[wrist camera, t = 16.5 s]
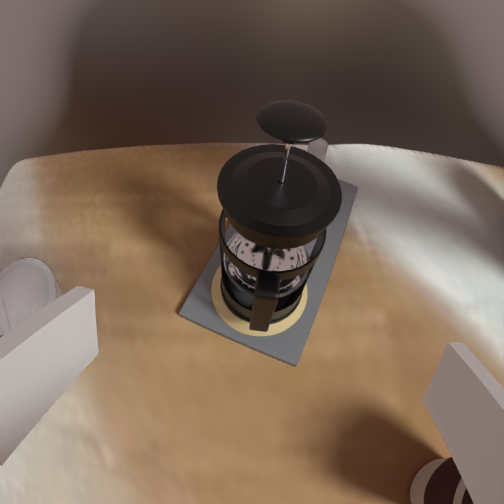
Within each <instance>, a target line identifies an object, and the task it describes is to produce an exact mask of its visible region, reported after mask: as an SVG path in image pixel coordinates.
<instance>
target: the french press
mask: <svg viewBox="0 0 504 504" xmlns="http://www.w3.org/2000/svg"><path fill="white" fill-rule="evenodd" d="M257 122H258V124H259V125H260V127H261V128H262V129H263V130H264V131H265V132H266V133H268V134H269V135H271V136H273V137H275V138H277V139H281V140H282V141H283V142H284V143H285V145H276V144H269V145H259V146H255V147H251V148H248V149H245V150H243V151H241V152H239V153H237V154H236V155H234V156H233V157H232V158H231V159H229V160H228V161H227V162H226V164H225V165H224V166H223V168H222V169H221V172H220V174H219V177H218V183H217V191H218V197H219V201H220V203H221V205H222V207H223V210H222V213H221V216H220V220H219V239H220V257H221V274H222V277H221V283H220V289H221V295H222V298H223V300H224V303H225V304H226V306H227V307H228V309H229V310H230V311H231V312H232V313H233V314H234V315H235V316H237V317H238V318H240V319H241V320H243V321H246V322H248V323H250V325H249V330H253V331H262V332H267V331H268V328H269V325H270V324H275V323H277V322H280V321H282V320H284V319H286V318H287V317H289V316H290V315H291V314H292V313H293V312H294V311H295V310H296V308H297V307H298V305H299V303H300V300H301V298H302V293H303V290H304V287H305V285H306V282H307V280H308V278H309V276H310V274H311V272H312V269H313V267H314V265H315V263H316V261H317V259H318V257H319V256H320V253H321V251H322V249H323V246H324V243H325V241H326V228H327V227H328V226H329V225H330V224H331V223H332V222H333V221H334V219H335V218H336V216H337V215H338V213H339V210H340V207H341V203H342V191H341V187H340V184H339V181H338V179H337V177H336V175H335V174H334V173H333V171H332V170H331V169H330V168H329V167H328V166H327V165H326V164H325V163H324V162H323V161H322V160H320V159H319V158H317V157H316V156H314V155H312V154H310V153H308V152H306V151H304V150H301V149H298V148H295V147H291V144H294V143H305V142H312V141H315V140H318V139H319V138H321V137H323V136H324V135H325V134H326V132H327V129H328V124H327V121H326V119H325V117H324V116H323V115H322V114H321V113H320V112H319V111H318V110H317V109H315V108H313V107H312V106H309V105H307V104H304V103H301V102H297V101H290V100H280V101H274V102H271V103H268V104H265V105H264V106H263V107H261V108H260V110H259V111H258V113H257ZM226 217H227V219H228V221H229V223H230V224H231V225H232V227H233V228H234V229H235V230H236V231H237V233H235V234H234V235H233V236H232V238H231V239H230V240H229V242H228V244H226V242H225V218H226ZM317 237H318V238H317ZM316 238H317V240H316V243H315V245H314V248H313V250H312V252H311V255H310V257H309V254H308V251H307V248H306V247H305V245H306V244H308V243H309V242H311V241H313V240H315V239H316ZM232 282H233V283H234V284H235V285H236V286H237V287H238V288H239V289H240V290H242V291H243V292H244V293H246V294H248V295H250V296H252V297H254V298H253V305H252V309H250V308H248V307H245V306H243V305H242V304H241V303H239V302H238V300H237V299H236V297H235V296H234V293H233V291H232ZM290 293H291V295H290V298H289V299H288V301H287V302H286V303H285V304H284V305H283V306H282V307H280V308H279V309H277V310H275V308H276V305H277V302H278V299H279V298H281V297H283V296H286V295H288V294H290Z"/></svg>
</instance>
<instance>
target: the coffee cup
mask: <svg viewBox="0 0 504 504" xmlns="http://www.w3.org/2000/svg"><path fill="white" fill-rule="evenodd" d="M410 501H411V504H474V503H473V501H472V499H471V496H470V494H469V492H468V490H467V488H466V485H465V483H464V481H463V479H462V477H461V475H460V473H459V470H458V468H457V466H456V464H455V462H454V460H453V458H452V457H451V458H441V459H436V460H433V461H431V462H429V463H427V464H426V465H425V466H423V467H422V468H421V469H420V470H419V472H418V473H417V474H416V476H415V478H414V479H413V482H412V484H411V488H410Z"/></svg>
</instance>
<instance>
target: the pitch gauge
mask: <svg viewBox="0 0 504 504" xmlns="http://www.w3.org/2000/svg"><path fill="white" fill-rule="evenodd" d="M327 148H328V143H327V142H326V141H325V140H324V139H321V138H319V139H318V140H315V141H312V142H310V143H309V147H308V151H307V152H308V153H310V154H312V155H314V156H316V157H317V158H319V159H320V160H322V161H323V162H324V158H325V155H326V152H327ZM338 181H339V184H340V187H341V191H342V203H341V207H340V210H339V213H338V215H337V216H336V218H335V219H334V221H333V222H332V223H331V224H330V225H329V226H328V227H327V228H326V241H325V243H324V246H323V249H322V251H321V253H320V256H319V257H318V259H317V261H316V263H315V265H314V267H313V269H312V272H311V274H310V276H309V278H308V280H307V282H306V285H305V287H304V290H303V293H302V298H301V300H300V303H299V305H298V307H297V308H296V310H295V311H294V312H293V313H292V314H291V315H290V316H289V317H287V318H286V319H284V320H282V321H280V322H277V323H275V324H270V325H269V328H268V331H267V332H262V331H253V330H249V325H250V323H248V322H246V321H243V320H241V319H240V318H238V317H237V316H235V315H234V314H233V313H232V312H231V311H230V310H229V309H228V307H227V306H226V304H225V303H224V300H223V298H222V295H221V289H220V283H221V277H222V274H221V257H220V242H219V244H218V246H217V247H216V249H215V251H214V252H213V254H212V256H211V258H210V259H209V261H208V263H207V265H206V266H205V268H204V270H203V272H202V273H201V275H200V277H199V279H198V280H197V282H196V284H195V286H194V287H193V289H192V291H191V293H190V294H189V296H188V298H187V300H186V302H185V303H184V305H183V307H182V309H181V310H180V312H179V316H180V317H182V318H184V319H186V320H189V321H191V322H193V323H195V324H197V325H199V326H201V327H203V328H206V329H208V330H210V331H212V332H214V333H217V334H219V335H221V336H223V337H225V338H228V339H230V340H232V341H234V342H237V343H239V344H241V345H244V346H246V347H248V348H251V349H253V350H255V351H258V352H260V353H263V354H265V355H267V356H270V357H272V358H275V359H277V360H280V361H282V362H285V363H287V364H290V365H292V366H295V367H296V366H297V363H298V361H299V358H300V356H301V353H302V351H303V348H304V346H305V343H306V340H307V338H308V335H309V333H310V330H311V327H312V325H313V322H314V319H315V316H316V314H317V311H318V308H319V305H320V303H321V300H322V297H323V294H324V291H325V289H326V286H327V283H328V280H329V277H330V274H331V271H332V268H333V265H334V262H335V259H336V256H337V253H338V250H339V247H340V244H341V241H342V237H343V234H344V231H345V228H346V225H347V221H348V218H349V215H350V211H351V208H352V205H353V201H354V198H355V194H356V191H357V186H354V185H352V184H349V183H347V182H344V181H341V180H339V179H338ZM235 233H237V231H236V230H235V229H234V228H233V227H232V225H231V224H230V225H229V227H228V229H227V230H226V232H225V242H226V244H228V242H229V240H230V239H231V238H232V236H233V235H234V234H235ZM317 238H318V237H317ZM317 238H316V239H315V240H313V241H311V242H309V243H308V244H306V245H305V247H306V248H307V251H308V254H309V257H310V255H311V252H312V250H313V248H314V245H315V243H316V240H317ZM232 291H233V293H234V296H235V297H236V299H237V300H238V302H239V303H241V304H242V305H243V306H245V307H248V308H250V309H252V305H253V298H254V297H252V296H250V295H248V294H246V293H244V292H243V291H242V290H240V289H239V288H238V287H237V286H236V285H235V284H234V283H233V282H232ZM290 295H291V293H290V294H288V295H286V296H283V297H281V298H279V299H278V302H277V305H276V308H275V310H277V309H279V308H280V307H282V306H283V305H284V304H285V303H286V302H287V301H288V299H289V298H290Z"/></svg>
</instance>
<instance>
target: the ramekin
mask: <svg viewBox="0 0 504 504" xmlns="http://www.w3.org/2000/svg"><path fill="white" fill-rule="evenodd" d="M62 295H64V294H63V292H62V290H61V288H60V286H59V284H58V283H57V280H56V277H55V275H54V273H53V272H52V270H51V269H50V268H49V267H48V266H47V265H46V264H45V263H44V262H42V261H41V260H38V259H35V258H23V259H19V260H17V261H15V262H13V263H11V264H10V265H8V266H7V267H6V268H4V269H3V270H2V271H1V272H0V336H1V335H4V334H6V333H7V332H9V331H10V330H11V329H13V328H14V327H16V326H17V325H19V324H20V323H22V322H23V321H25V320H26V319H28V318H29V317H30V316H32V315H33V314H35V313H36V312H38V311H39V310H41V309H42V308H44V307H45V306H47V305H48V304H50V303H52V302H53V301H55V300H56V299H58V298H59V297H61V296H62Z"/></svg>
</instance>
